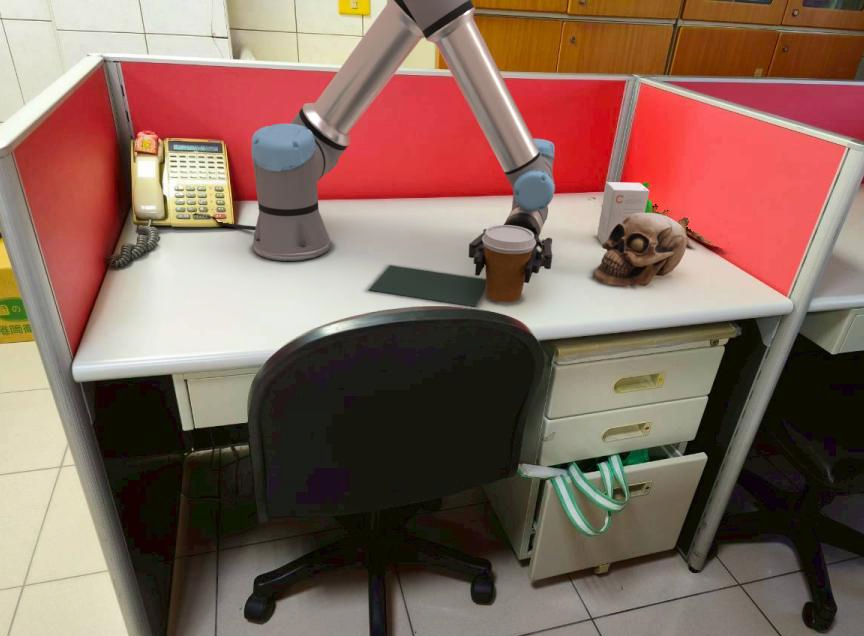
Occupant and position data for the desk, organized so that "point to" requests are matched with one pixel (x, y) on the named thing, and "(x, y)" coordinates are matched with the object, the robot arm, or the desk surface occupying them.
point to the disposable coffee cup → (506, 261)
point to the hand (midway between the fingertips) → (502, 272)
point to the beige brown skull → (641, 250)
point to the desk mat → (430, 285)
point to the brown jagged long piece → (692, 233)
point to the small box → (620, 205)
